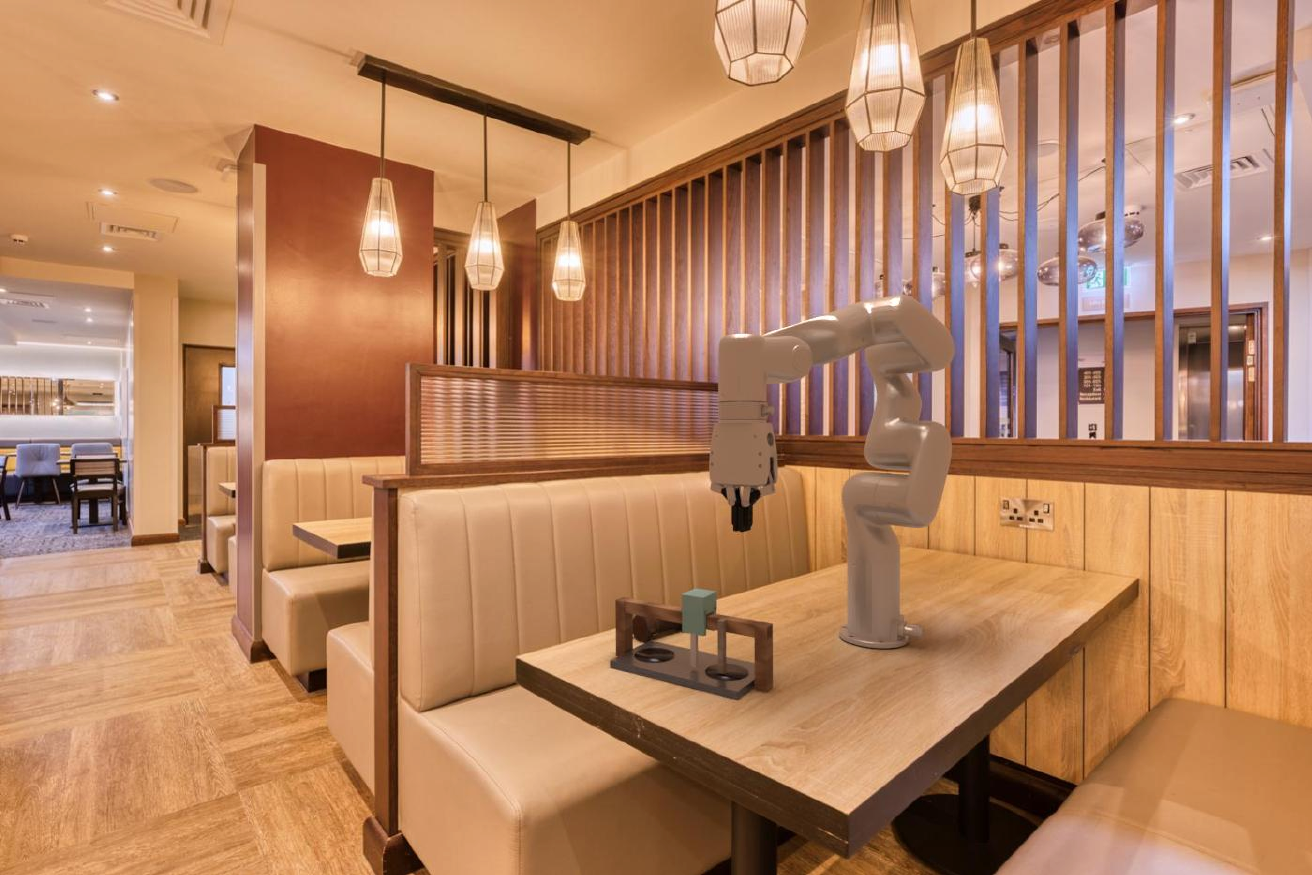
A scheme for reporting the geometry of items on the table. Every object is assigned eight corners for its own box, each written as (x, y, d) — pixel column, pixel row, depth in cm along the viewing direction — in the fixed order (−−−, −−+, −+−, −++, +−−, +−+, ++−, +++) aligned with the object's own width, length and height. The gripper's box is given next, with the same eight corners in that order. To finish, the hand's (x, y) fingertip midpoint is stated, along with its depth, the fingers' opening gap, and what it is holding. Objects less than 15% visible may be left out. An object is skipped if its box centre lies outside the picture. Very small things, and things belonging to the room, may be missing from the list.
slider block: (716, 661, 108) (716, 591, 108) (703, 669, 105) (703, 597, 104) (695, 656, 111) (695, 588, 110) (682, 664, 107) (681, 594, 107)
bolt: (698, 635, 133) (641, 649, 123) (684, 618, 136) (627, 630, 127) (709, 613, 131) (652, 626, 121) (694, 596, 134) (637, 608, 124)
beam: (773, 687, 102) (772, 623, 101) (764, 694, 99) (764, 629, 99) (623, 651, 118) (623, 596, 118) (612, 657, 115) (612, 600, 115)
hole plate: (770, 673, 107) (770, 666, 107) (737, 699, 97) (737, 691, 97) (650, 646, 120) (650, 639, 120) (610, 667, 111) (610, 659, 111)
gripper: (796, 413, 101) (796, 532, 101) (712, 414, 110) (711, 524, 110) (777, 413, 95) (776, 538, 95) (688, 414, 103) (688, 529, 104)
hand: (741, 530), depth 103 cm, fingers closed
